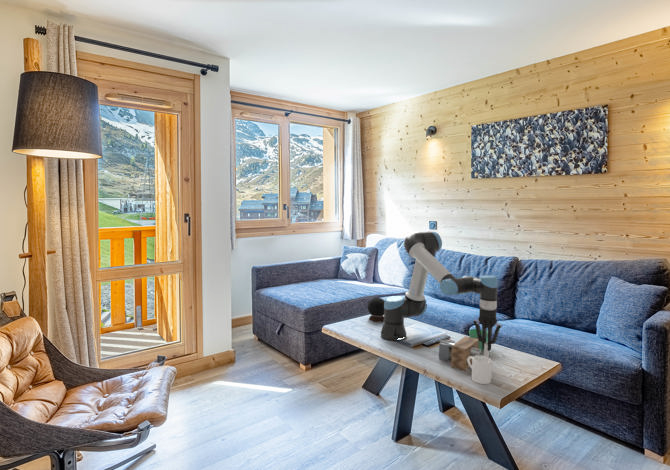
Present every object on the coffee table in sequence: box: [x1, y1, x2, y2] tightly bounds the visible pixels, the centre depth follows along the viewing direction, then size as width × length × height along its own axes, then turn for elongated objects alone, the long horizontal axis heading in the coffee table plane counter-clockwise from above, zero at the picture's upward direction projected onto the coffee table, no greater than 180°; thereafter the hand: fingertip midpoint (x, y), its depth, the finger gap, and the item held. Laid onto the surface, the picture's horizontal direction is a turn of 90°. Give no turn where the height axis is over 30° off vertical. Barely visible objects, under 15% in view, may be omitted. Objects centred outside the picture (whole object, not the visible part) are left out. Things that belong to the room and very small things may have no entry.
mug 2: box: [467, 355, 493, 385], centre depth 177 cm, size 8×12×10 cm
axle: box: [439, 339, 482, 356], centre depth 196 cm, size 20×4×4 cm, turn 52°
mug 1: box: [468, 328, 488, 352], centre depth 213 cm, size 15×10×10 cm
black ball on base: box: [367, 297, 385, 323], centre depth 266 cm, size 13×13×15 cm
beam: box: [450, 335, 479, 372], centre depth 194 cm, size 7×18×10 cm, turn 142°
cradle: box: [438, 339, 456, 362], centre depth 200 cm, size 5×8×8 cm, turn 141°
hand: (486, 356), depth 188 cm, fingers closed
